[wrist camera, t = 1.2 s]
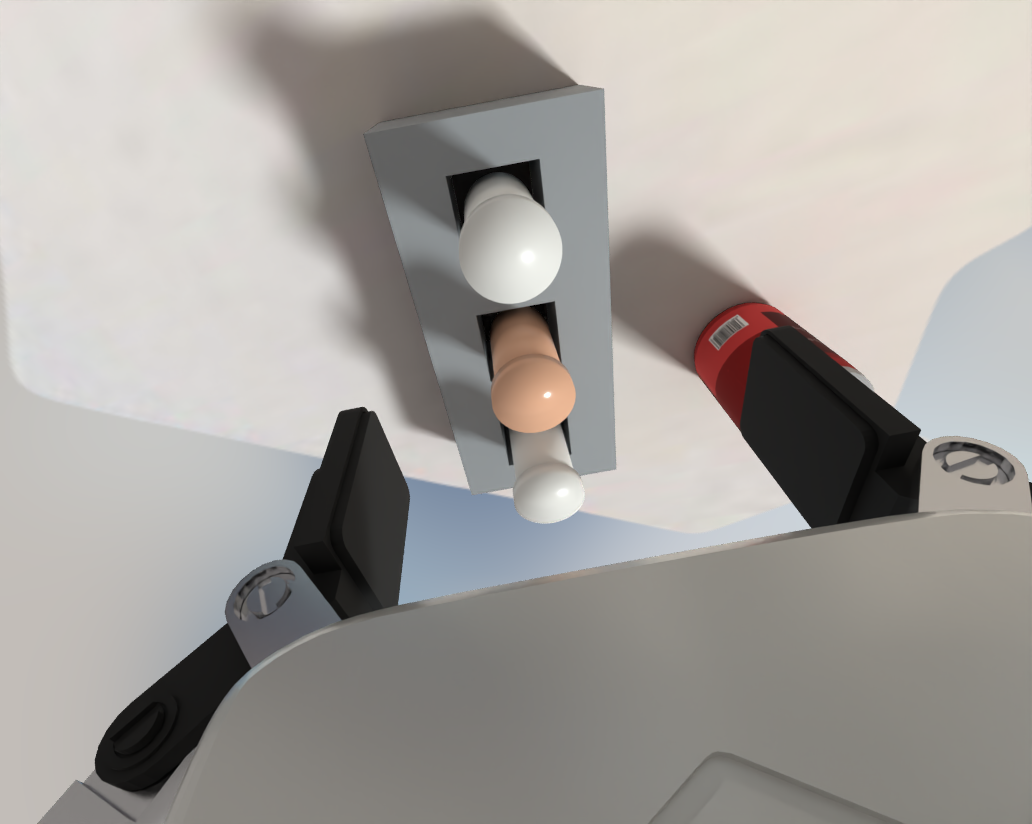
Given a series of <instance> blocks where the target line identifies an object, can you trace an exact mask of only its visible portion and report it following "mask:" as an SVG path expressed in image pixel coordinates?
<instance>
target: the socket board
mask: <svg viewBox="0 0 1032 824" xmlns="http://www.w3.org/2000/svg"><path fill="white" fill-rule="evenodd" d="M363 135H364V138H365V141H366V145H367V148H368V151H369V155H370V158H371V161H372V164H373V168H374V171H375V174H376V178H377V181H378V184H379V188H380V191H381V194H382V198H383V201H384V204H385V208H386V211H387V214H388V218H389V221H390V224H391V228H392V231H393V234H394V238H395V241H396V244H397V248H398V251H399V254H400V258H401V261H402V264H403V268H404V271H405V274H406V277H407V281H408V284H409V287H410V291H411V294H412V297H413V301H414V304H415V307H416V311H417V314H418V317H419V321H420V324H421V327H422V331H423V334H424V337H425V341H426V344H427V347H428V351H429V354H430V357H431V361H432V364H433V367H434V371H435V374H436V377H437V381H438V384H439V387H440V390H441V394H442V397H443V400H444V404H445V407H446V410H447V414H448V417H449V420H450V424H451V427H452V430H453V434H454V437H455V440H456V444H457V447H458V450H459V454H460V457H461V460H462V464H463V467H464V470H465V474H466V477H467V480H468V484H469V487H470V490H471V493H472V495H476V494H481V493H487V492H493V491H498V490H504V489H509V488H513V486H514V483H515V481H516V478H515V470H514V463H513V456H512V449H511V442H510V434H509V428H508V427H507V426H505V425H504V424H502V423H501V422H500V421H499V420H498V418H497V417H496V415H495V413H494V411H493V408H492V400H491V385H492V381H493V379H494V369H493V360H492V352H491V343H490V340H489V341H486V336H485V331H484V327H483V322H482V317H481V315H482V314H488V313H493V312H499V311H504V310H509V309H515V308H520V307H526V306H531V305H537V304H542V303H546V309H547V318H548V326H549V331H550V334H551V337H552V340H553V343H554V346H555V349H556V351H557V354H558V357H559V360H560V362H561V363H562V364H563V365H564V366H565V367H566V368H567V370H568V371H569V373H570V376H571V378H572V381H573V384H574V387H575V392H576V398H575V403H574V406H573V408H572V410H571V412H570V414H569V415H568V416H567V417H566V418H565V419H564V420H563V421H562V422H561V423H560V424H561V427H562V431H563V434H564V438H565V441H566V445H567V448H568V452H569V455H570V459H571V462H572V466H573V469H574V470H576V471H577V473H578V474H579V476H582V475H587V474H593V473H598V472H604V471H610V470H615V469H616V447H615V416H614V385H613V354H612V322H611V291H610V260H609V229H608V198H607V166H606V135H605V104H604V89H602V88H596V87H590V86H584V85H575V86H569V87H564V88H559V89H554V90H548V91H543V92H538V93H532V94H527V95H522V96H516V97H511V98H506V99H501V100H495V101H490V102H485V103H479V104H474V105H469V106H464V107H458V108H453V109H448V110H442V111H437V112H432V113H427V114H421V115H416V116H411V117H405V118H400V119H395V120H390V121H384V122H380V123H378V124H377V125H375V126H374V127H373V128H371V129H370V130H368V131H367V132H366V133H364V134H363ZM524 161H529V169H530V177H531V186H532V194H533V200H534V201H536V202H537V203H539V204H540V205H541V206H542V207H543V208H544V209H545V210H546V211H547V212H548V213H549V215H550V216H551V218H552V219H553V221H554V223H555V224H556V226H557V228H558V231H559V233H560V236H561V241H562V260H561V264H560V267H559V270H558V273H557V274H556V276H555V278H554V280H553V281H552V283H551V284H550V285H549V286H548V287H547V288H546V289H545V290H544V291H543V292H542V293H540V294H539V295H537V296H536V297H534V298H532V299H530V300H527V301H525V302H521V303H514V304H504V303H498V302H494V301H492V300H489V299H487V298H485V297H483V296H482V295H480V294H479V293H478V292H476V291H475V290H474V289H473V288H472V287H471V285H470V284H469V283H468V281H467V280H466V278H465V276H464V274H463V272H462V269H461V266H460V261H459V237H460V233H461V229H462V223H461V219H460V214H459V209H458V205H457V200H456V195H455V191H454V186H453V181H452V177H451V175H455V174H460V173H466V172H471V171H476V170H482V169H487V168H492V167H498V166H503V165H508V164H514V163H519V162H524Z"/></svg>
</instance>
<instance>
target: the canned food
mask: <svg viewBox="0 0 1032 824" xmlns="http://www.w3.org/2000/svg"><path fill="white" fill-rule="evenodd" d="M787 325H790V326H792V327H794V328H795V329H796V330H797V331H799V332H800V333H801V334H802V335H804V336H805V337H806V338H807V339H809V340H810V341H811V342H812V343H814V344H815V345H816V346H817V347H819V348H820V349H821V350H822V351H824V352H825V353H826V354H827V355H829V356H830V357H831V358H832V359H834V360H835V361H836V362H837V363H839V364H840V365H841V366H842V367H844V368H845V369H846V370H847V371H849V372H850V373H851V374H852V375H853V376H855V377H856V378H857V379H858V380H860V381H861V382H862V383H863V384H865V385H866V386H867V387H868V388H870V389H871V390H872V391H873V392H874V388H873V386H872V384H871V383H870V381H869V380H868V379H866V378H865V376H864V375H863V374H862V373H861V372H859V371H858V370H857V369H855V368H854V367H853V366H852V365H851V364H849V363H848V362H847V361H846V360H844V359H843V358H842V357H840V356H839V355H838V354H836V353H835V352H834V351H832V350H831V349H830V348H828V347H827V346H826V345H824V344H823V343H822V342H820V341H819V340H818V339H816V338H815V337H814V336H812V335H811V334H810V333H808V332H807V331H806V330H804V329H803V328H802V327H800V326H799V325H798V324H796V323H795V322H794V321H792V320H791V319H790V318H789V317H787V316H786V315H785V314H783V313H782V312H781V311H779V310H778V309H777V308H775V307H772V306H770V305H766V304H760V303H744V304H740V305H736V306H734V307H731V308H729V309H727V310H725V311H724V312H722V313H721V314H719V315H718V316H717V317H715V318H714V319H713V320H712V321H711V322H710V323H709V324H708V325H707V326H706V327H705V329H704V330H703V332H702V333H701V335H700V337H699V339H698V341H697V343H696V347H695V351H694V361H695V366H696V371H697V373H698V375H699V377H700V379H701V380H702V381H703V383H704V384H705V385H706V387H707V388H708V389H709V391H710V392H711V393H712V395H713V396H714V397H715V398H716V400H717V401H718V402H719V404H720V405H721V406H722V408H723V409H724V410H725V412H726V413H727V414H728V416H729V417H730V418H731V420H732V421H733V422H734V423H735V425H736V426H737V427H738V429H739V430H740V419H741V413H742V407H743V401H744V395H745V389H746V382H747V376H748V370H749V364H750V358H751V351H752V345H753V341H754V339H755V338H757V337H759V336H760V334H761V332H762V331H763V330H766V329H771V328H776V327H781V326H787ZM740 431H741V430H740Z"/></svg>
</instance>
